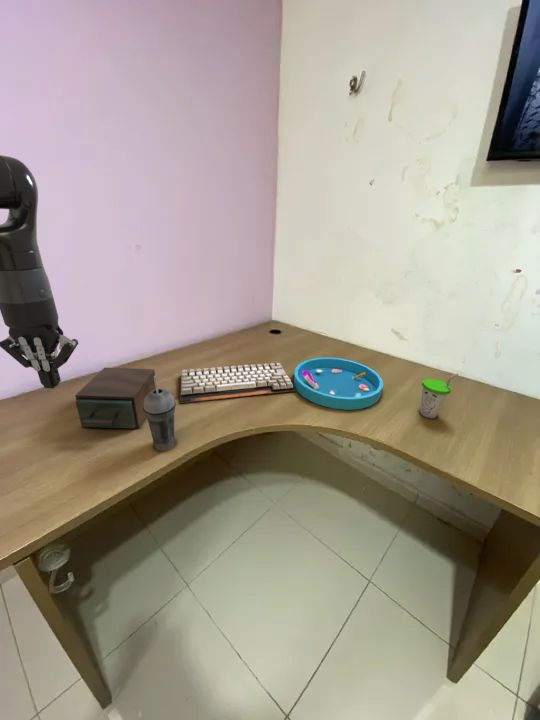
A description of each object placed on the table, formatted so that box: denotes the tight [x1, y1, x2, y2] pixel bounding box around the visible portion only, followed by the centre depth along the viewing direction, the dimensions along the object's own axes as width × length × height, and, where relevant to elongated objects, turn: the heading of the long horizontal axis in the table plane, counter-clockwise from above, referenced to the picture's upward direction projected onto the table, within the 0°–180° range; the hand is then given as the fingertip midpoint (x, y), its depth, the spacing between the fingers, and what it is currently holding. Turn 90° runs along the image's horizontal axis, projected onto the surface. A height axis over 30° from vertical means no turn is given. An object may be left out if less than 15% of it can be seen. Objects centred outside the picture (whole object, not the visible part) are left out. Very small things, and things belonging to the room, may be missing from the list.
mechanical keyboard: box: [179, 362, 296, 405], centre depth 106 cm, size 38×19×3 cm, turn 105°
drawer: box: [75, 398, 136, 429], centre depth 84 cm, size 19×14×8 cm
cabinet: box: [74, 367, 156, 429], centre depth 88 cm, size 16×15×10 cm
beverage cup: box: [143, 375, 177, 452], centre depth 73 cm, size 7×7×20 cm
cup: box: [419, 373, 459, 419], centre depth 91 cm, size 8×8×15 cm
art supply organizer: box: [293, 357, 384, 411], centre depth 107 cm, size 30×30×6 cm
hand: (52, 386), depth 59 cm, fingers closed
